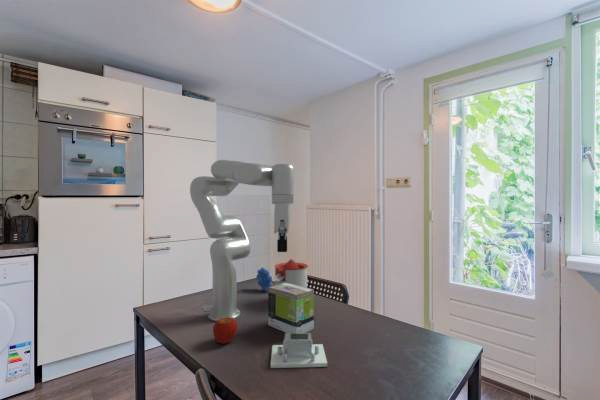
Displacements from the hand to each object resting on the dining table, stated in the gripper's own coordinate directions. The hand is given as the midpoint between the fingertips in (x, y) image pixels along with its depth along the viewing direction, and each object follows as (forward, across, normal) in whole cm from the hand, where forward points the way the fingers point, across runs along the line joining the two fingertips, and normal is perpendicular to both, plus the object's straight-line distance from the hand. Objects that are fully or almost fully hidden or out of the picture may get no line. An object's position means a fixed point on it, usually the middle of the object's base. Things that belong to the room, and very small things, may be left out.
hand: (282, 249), depth 100 cm
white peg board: (+30, +13, +5) cm, 33 cm away
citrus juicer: (+31, -35, +3) cm, 47 cm away
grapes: (+31, -53, -11) cm, 62 cm away
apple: (+31, +2, -19) cm, 36 cm away
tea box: (+31, -8, +3) cm, 32 cm away
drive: (+29, +13, +5) cm, 32 cm away
